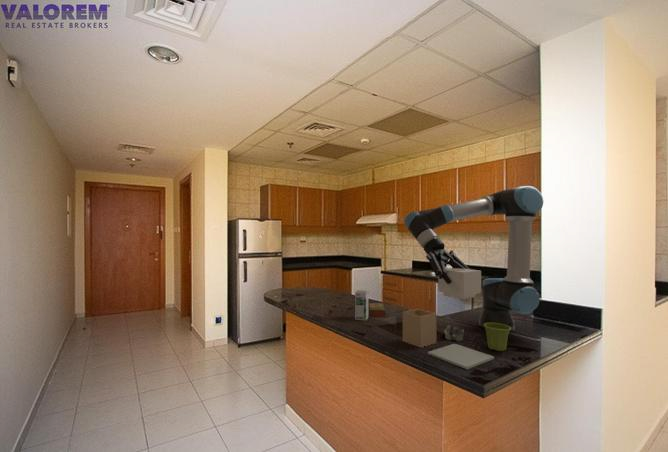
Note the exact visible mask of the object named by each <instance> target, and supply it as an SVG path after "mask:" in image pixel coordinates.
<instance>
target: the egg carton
mask: <svg viewBox="0 0 668 452" xmlns="http://www.w3.org/2000/svg"><path fill="white" fill-rule="evenodd" d="M443 332H444V334H445V339H446V340H448V341H452V340H453V341H456V342H460V341H461V342H463V340H464V335H465V334H464V333H465V329H464V328H460V327H457V326H452V325H449V324H448V325H447V326H446V327H445V330H443Z"/></svg>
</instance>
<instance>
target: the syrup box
mask: <svg viewBox="0 0 668 452" xmlns="http://www.w3.org/2000/svg"><path fill="white" fill-rule="evenodd" d="M354 294H355V295H354V297H355V298H354V299H355V301H354V302H355V303H354V306H355V309H354V311H355V312H354V314H355V315H354V319H355V321H364V322H366V321H367V320H368V319H369V311H368V303H369V290H361V289H356V291H355V293H354Z"/></svg>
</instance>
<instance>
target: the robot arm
mask: <svg viewBox="0 0 668 452" xmlns="http://www.w3.org/2000/svg"><path fill="white" fill-rule="evenodd" d="M543 205H544V197H543V194H542V193H541V191H539V190H538V189H537V188H536V187H534V186H531V185H524V186H518V187H513V188H506V189H503V190H500V191H497V192H494V193H491V194H487V195H484V196H482V197H481V198H479V199H474V200H469V201H464V202H459V203H454V204H450V205H447V204H444V205H440V206H438V207H435V208H434V207H433V208H430V209H429V208H428V209H424V210H418V211H411V212H409V213H408V214H407V215H406V216H405V218H404V220H403V222H404V225H405V227H406V228H407V230H408V231H409V232H410V234H411V235H412V236H413V238H414V239H415V240H416V241H417V242H418V244H419V245H420V246H421V248H422V249H423V251H424V252H425V253H426V256H425V258H426V259H427V260H428V261H429V264H430V266H431V268H432V270H433V272H434V273H433V274H434V275H435V276H436V277H438V276H439V278H440V279H442V278H443V279H444V280H445V282H446V283H447V284H448V285H449V287H450V288H451V289H452V291H453V292H454V293H456V292H457V291H458V290H459V289H460V287H459V286H458V284H457V283H456V282H455V280H454V279H453V278H452V277H451V275H450V274H449V273H447V272H446V269H447V268H446V266H445V264H446V265H447V266H450V267H451V268H461V269H471V268H470V267H469V266H467V265H466V264H465V263H464V262H463V260H461V259H460V258H459V257H458V256H457V255H456V254H455V253H454V252H453V251H452V250H450V251H449V252H448V251H447V250H446V249H445V244H444V242H443V240H441V239H440V238H439V236H438V234H436V232H435V231H434V230H435V229H437V228H439V227H442V226H444V225H447V224H448V223H450V222H455V221H459V220H464V219H469V218H474V217H479V216H483V215H484V216H487V217H489V216H497V215H499V216H500V215H503V216H504V215H505V219H506V220H507V221H508V222H509V223H508V237H507V238H508V243H507V264H506V266H507V267H506V276H504V278H503V277H502V278H501V277H500V278H499V277H498V278H495V277H494V278H492V277H491V278H484V279H483V281H482V285H481V288H482V310H481V314H480V316H479V319H478V326H479V327H480V328H482V329H485V326H484V324H485V323H499V324H504V325H507V326H509V327H511V330H510V331H509V332H513V331H515V329H516V326H515V321H514V319H513V316H512V313H511V311H512V312H514V313H517V314H518V313H519V314H524V315H528V314H530V313H533V312H534V310H536V309H537V308H538V306H539V304H540V299H541V298H540V293H539V292H538V291H537V289H536V288H535V287H534V281H533V280H532V279H531V276H530V275H531V274H530V273H531V251H532V231H533V229H532V228H533V227H532V225H533V224H532V222H533V221H535V220H536V219H537V213H538V212H540V210H541V209H542V208H543ZM446 273H447V274H446Z"/></svg>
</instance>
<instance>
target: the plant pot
mask: <svg viewBox="0 0 668 452" xmlns="http://www.w3.org/2000/svg"><path fill="white" fill-rule="evenodd" d="M484 326H485V328H484V329H485V333H486V339H487V341H486V342H487V347H488V348H489V349H490V350H495V351H497V352H504V351H506V350H507V345H508V338H509V334H510V332H511V331H510V330H511V327H509V326H507V325H504V324H499V323H485V324H484Z"/></svg>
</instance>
